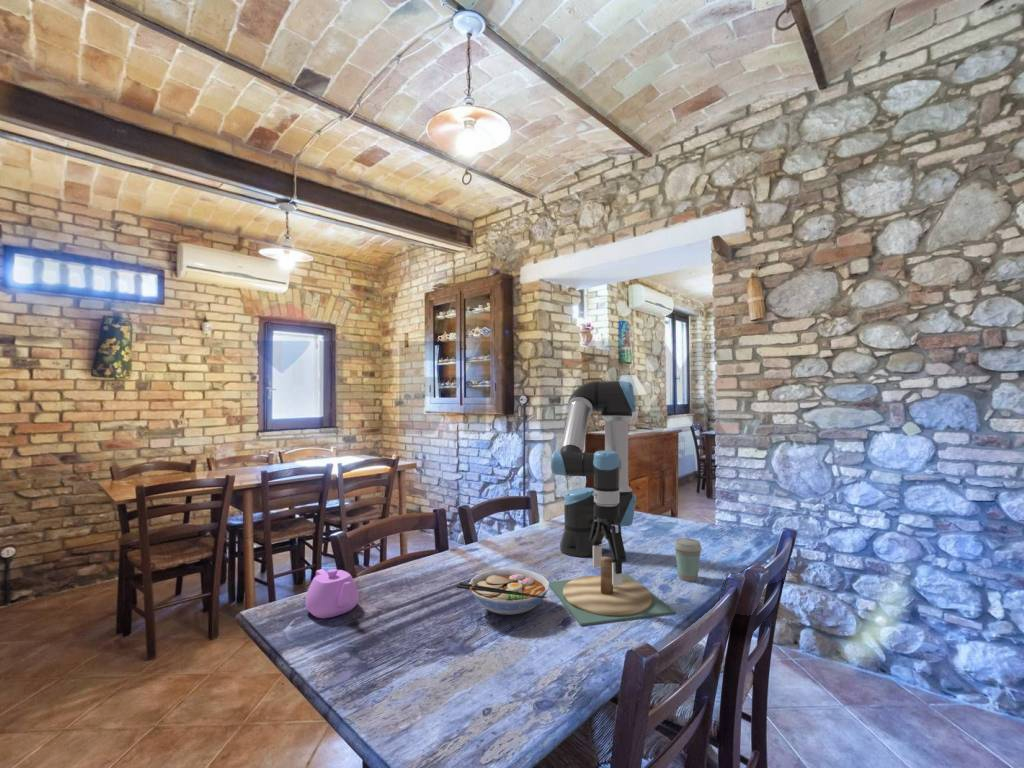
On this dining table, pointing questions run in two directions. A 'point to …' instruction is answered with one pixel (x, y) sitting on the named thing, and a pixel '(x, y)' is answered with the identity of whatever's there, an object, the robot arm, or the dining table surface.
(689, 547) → the coffee cup
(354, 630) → the dining table surface
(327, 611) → the teapot
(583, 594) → the lid
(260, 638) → the dining table surface
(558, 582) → the mat
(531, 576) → the ramen bowl
